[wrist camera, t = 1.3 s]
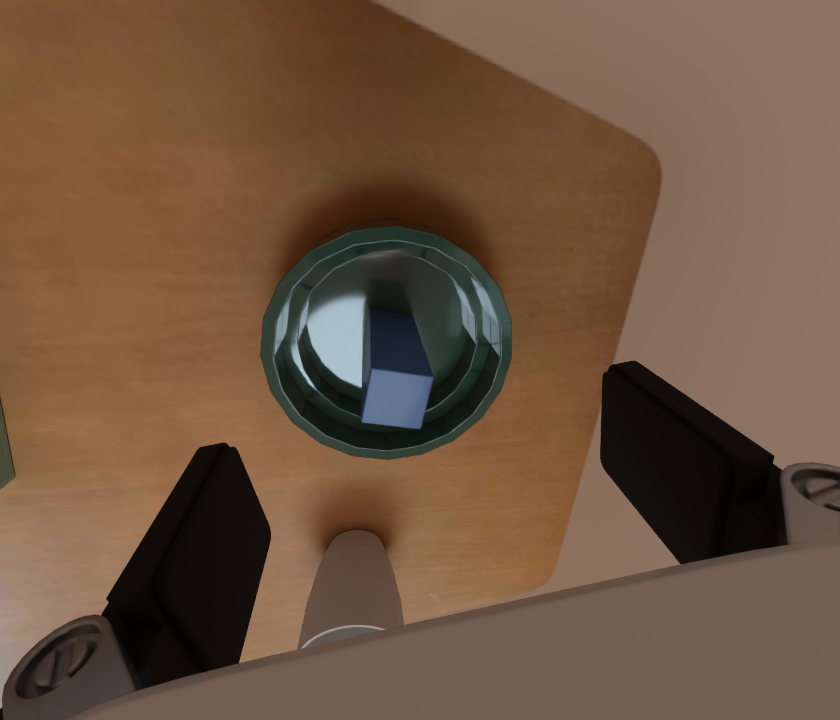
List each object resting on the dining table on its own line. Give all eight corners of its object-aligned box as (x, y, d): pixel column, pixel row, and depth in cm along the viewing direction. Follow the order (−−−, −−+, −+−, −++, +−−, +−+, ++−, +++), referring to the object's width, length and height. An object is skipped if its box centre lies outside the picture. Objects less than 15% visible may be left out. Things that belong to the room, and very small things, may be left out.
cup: (349, 592, 41) (345, 709, 32) (292, 548, 38) (269, 664, 29) (415, 551, 40) (429, 661, 31) (362, 502, 37) (361, 608, 28)
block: (369, 307, 29) (370, 367, 20) (413, 315, 30) (434, 376, 21) (362, 349, 30) (360, 423, 21) (404, 355, 31) (420, 430, 22)
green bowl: (287, 194, 26) (271, 199, 22) (517, 244, 29) (544, 257, 25) (269, 407, 32) (253, 446, 28) (462, 430, 35) (476, 469, 31)
